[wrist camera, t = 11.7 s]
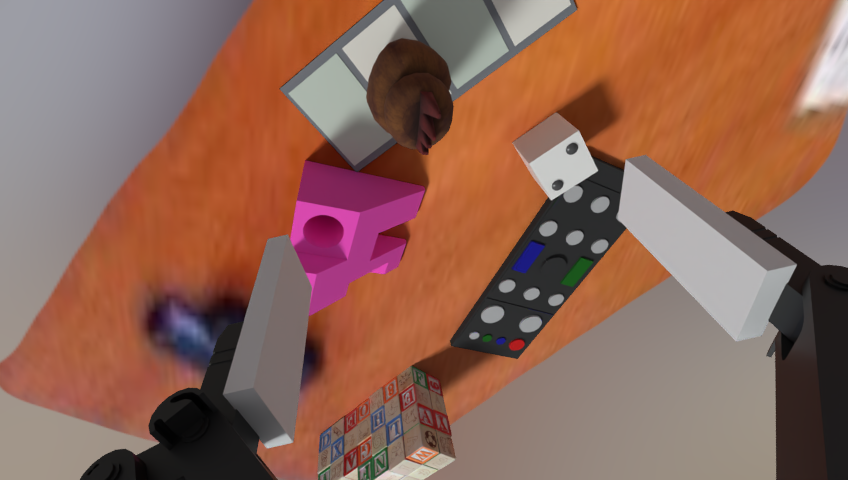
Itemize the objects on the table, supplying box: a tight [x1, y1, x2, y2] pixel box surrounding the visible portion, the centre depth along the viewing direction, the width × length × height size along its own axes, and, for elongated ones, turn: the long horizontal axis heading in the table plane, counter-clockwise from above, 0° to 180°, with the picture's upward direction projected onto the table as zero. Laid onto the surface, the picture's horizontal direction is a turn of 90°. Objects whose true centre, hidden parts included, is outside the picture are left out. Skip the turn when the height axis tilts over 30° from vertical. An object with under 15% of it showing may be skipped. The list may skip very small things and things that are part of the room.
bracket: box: [290, 160, 425, 316], centre depth 39 cm, size 12×10×10 cm
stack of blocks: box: [318, 366, 455, 480], centre depth 59 cm, size 21×6×12 cm, turn 134°
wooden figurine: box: [366, 38, 453, 155], centre depth 29 cm, size 7×6×15 cm
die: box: [512, 112, 598, 200], centre depth 40 cm, size 5×5×5 cm
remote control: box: [450, 156, 626, 359], centre depth 52 cm, size 11×30×2 cm, turn 155°
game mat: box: [280, 0, 577, 172], centre depth 35 cm, size 24×10×1 cm, turn 125°
